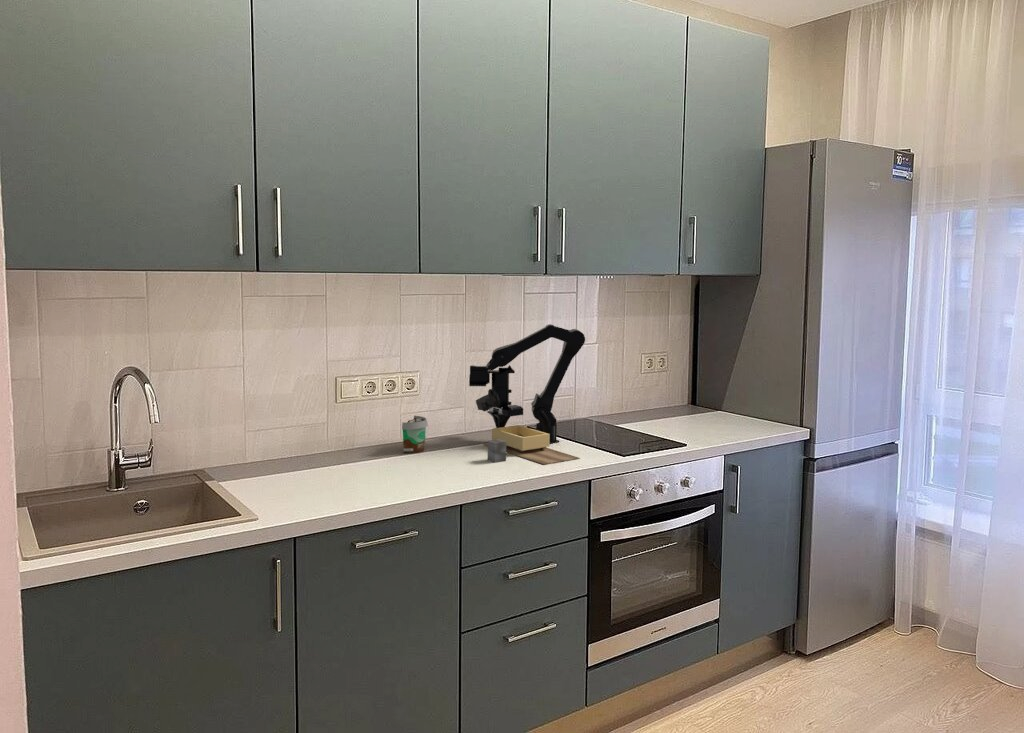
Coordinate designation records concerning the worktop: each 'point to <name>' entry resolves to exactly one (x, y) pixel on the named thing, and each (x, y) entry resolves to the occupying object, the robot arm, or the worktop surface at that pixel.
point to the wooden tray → (521, 437)
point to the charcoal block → (496, 451)
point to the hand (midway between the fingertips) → (499, 433)
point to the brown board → (541, 455)
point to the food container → (414, 435)
